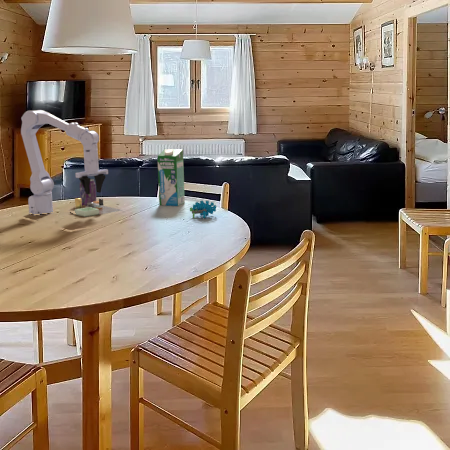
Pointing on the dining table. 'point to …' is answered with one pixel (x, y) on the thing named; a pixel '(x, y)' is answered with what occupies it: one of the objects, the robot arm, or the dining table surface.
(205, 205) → the gear
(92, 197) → the beverage can
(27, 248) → the dining table surface
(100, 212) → the base plate
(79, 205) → the brass pin
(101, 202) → the crank
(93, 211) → the tray
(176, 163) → the milk carton
